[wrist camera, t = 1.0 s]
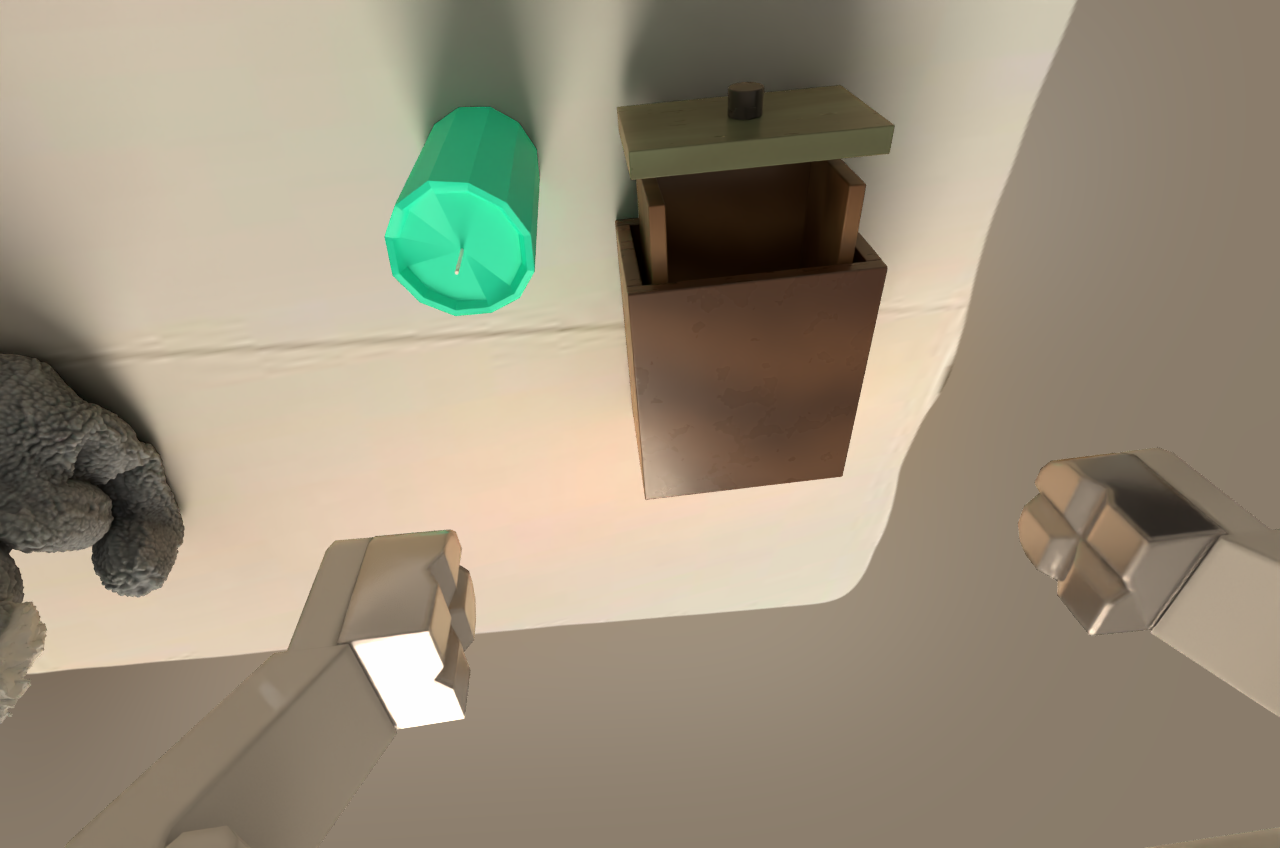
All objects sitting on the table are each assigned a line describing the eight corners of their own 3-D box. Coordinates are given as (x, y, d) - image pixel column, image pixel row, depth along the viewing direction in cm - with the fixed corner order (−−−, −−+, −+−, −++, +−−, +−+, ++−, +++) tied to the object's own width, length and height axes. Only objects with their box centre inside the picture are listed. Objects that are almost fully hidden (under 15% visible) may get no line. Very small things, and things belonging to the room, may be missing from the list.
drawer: (614, 80, 31) (626, 121, 25) (844, 57, 31) (901, 94, 26) (635, 334, 40) (646, 400, 35) (810, 314, 41) (846, 377, 36)
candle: (549, 121, 32) (546, 216, 23) (530, 230, 36) (522, 348, 27) (427, 90, 31) (375, 179, 22) (421, 207, 35) (374, 324, 26)
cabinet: (614, 219, 36) (627, 294, 30) (830, 197, 37) (888, 266, 30) (632, 412, 46) (645, 500, 39) (803, 393, 46) (842, 477, 40)
